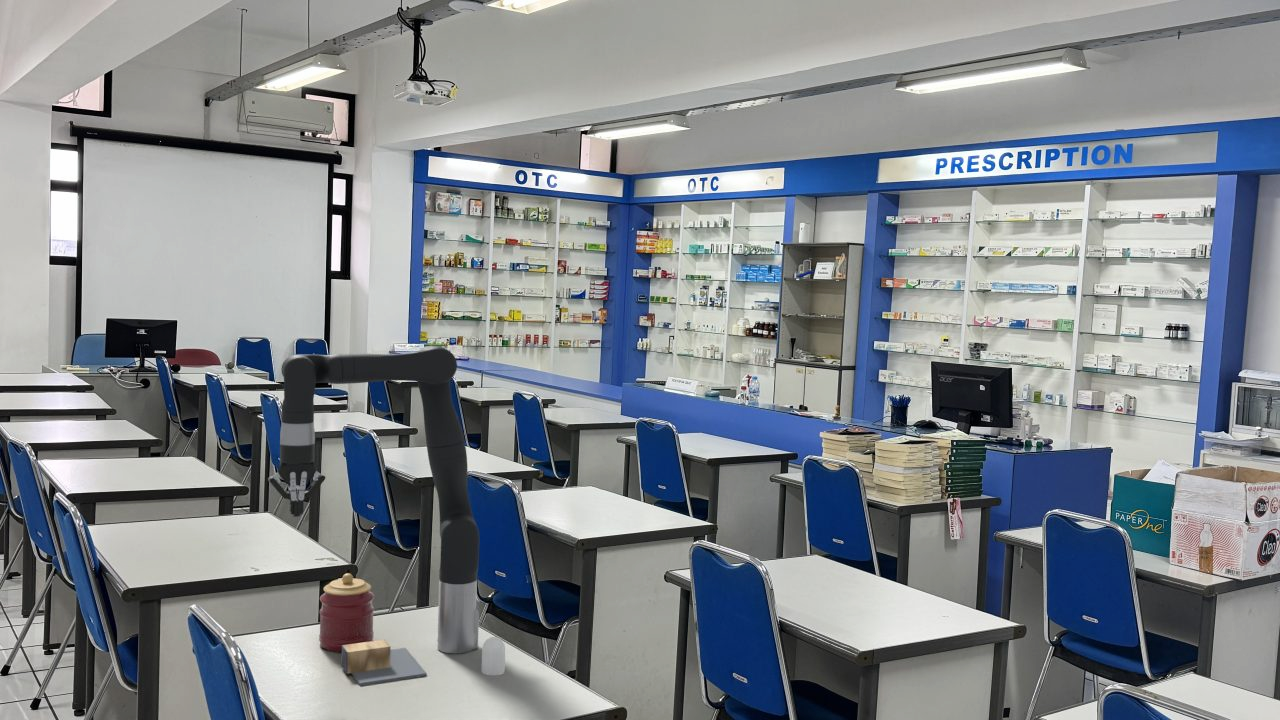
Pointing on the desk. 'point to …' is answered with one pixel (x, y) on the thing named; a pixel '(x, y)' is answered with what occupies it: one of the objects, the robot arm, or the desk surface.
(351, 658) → the oak block
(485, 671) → the white domed cylinder
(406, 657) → the mat
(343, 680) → the desk surface
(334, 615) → the canister
